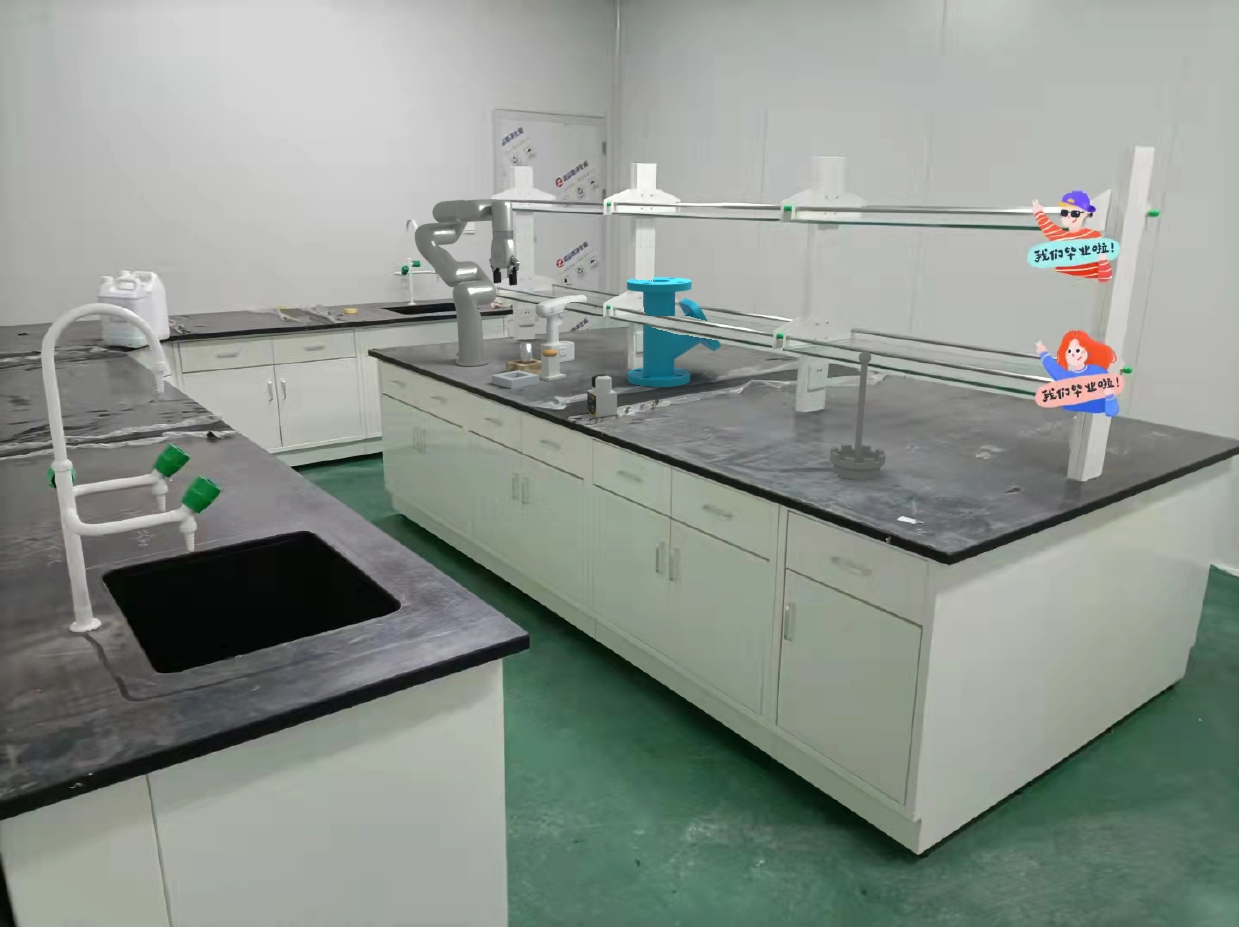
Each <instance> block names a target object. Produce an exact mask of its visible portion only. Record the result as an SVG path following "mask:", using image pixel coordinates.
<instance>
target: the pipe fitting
mask: <svg viewBox="0 0 1239 927" xmlns="http://www.w3.org/2000/svg"><path fill="white" fill-rule="evenodd" d="M692 283H693V282H692V280H691V279H688V278H683V277H668V276H667V277H664V276H663V277H661V276H660V277H659V276H657V277H656V276H655V277H653V282H652V280H651V282H650V280H640V281H639V280H636V278H629V279H628V280H626V290H628V291H632V292H636V293H637V292H639V293H642V308H643V307H644V312H645V313H646V314H647V315H648V316H675V317H676V293H678V292H686V291H690V290H692ZM678 302H679V307H680V308H681V311H682V312H683V314H684V315H683V316H691V317H694V318H697V319H701V320H705V321H708V319H707V317H706V315H705V313H704V312H703V310H702V308H701V307H700V305H699V304H698V303H697V302H695V301H694V300H692V299H689V298H687V297H685V298H683V299H682V300H681V301H678ZM685 314H686V315H685ZM699 344H701V345H703V347H705V348H707V349H708V350H710V351H713V352H716V351H717V350H719V349H720V348H721V346H722V345H721V343H720V340H718V341H717V340H712V339H706V338H699V337H693V336H689V335H678V334H673V333H670V332H667V331H663V330H658V329H656V328H652V327H650V326H648V325H643V324H642V367H637V368H633V369H631V370H628V372H627V378H626V379H627V382H628V383H629V384H631V383H632V385H634V384H635V386H638V385H641V386H640V387H645V386H651V387H650V388H669V387H678V386H683V385H686V384H689V383H690V382H691V371H689V370H687V369H684V368H682V367H681V368H680V367H675V359H677V358H679V357H681V356H682V355H684V354H685V353H687V352H688V351H691V349H694V348H695V347H696V346H698V345H699Z"/></svg>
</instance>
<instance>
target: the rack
mask: <svg viewBox="0 0 1239 927" xmlns="http://www.w3.org/2000/svg"><path fill="white" fill-rule="evenodd" d="M517 370H520V371H524V372H528V373H532V374H536V375H537V374H541V359H535V358H532V363H530V364H521V362H520V359H516V360H509V361H505V373H506V372H512V371H517Z"/></svg>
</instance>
